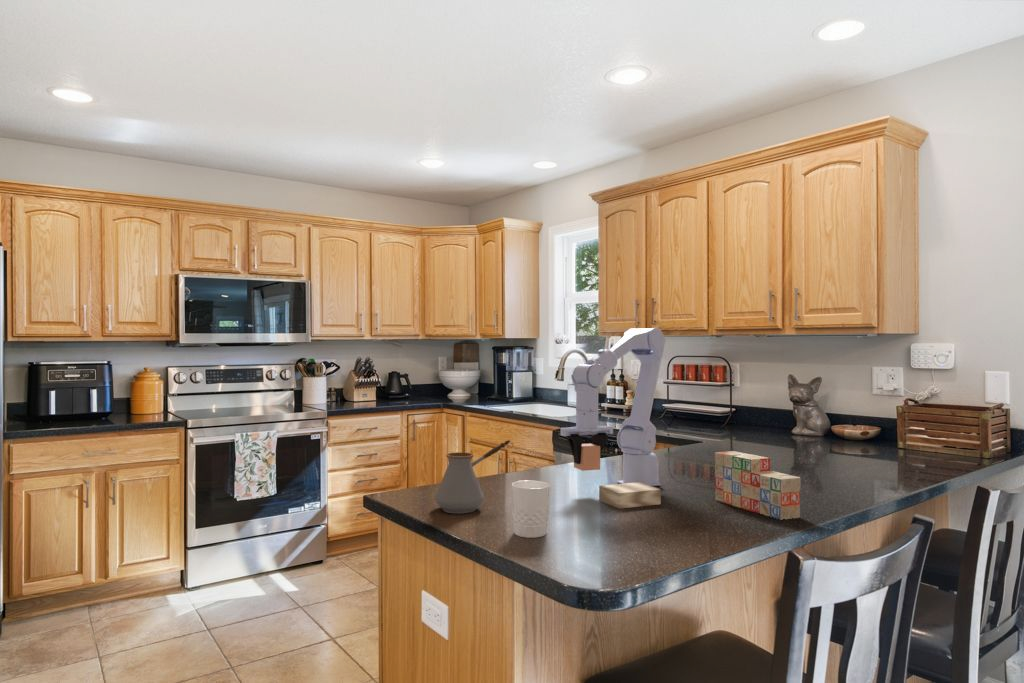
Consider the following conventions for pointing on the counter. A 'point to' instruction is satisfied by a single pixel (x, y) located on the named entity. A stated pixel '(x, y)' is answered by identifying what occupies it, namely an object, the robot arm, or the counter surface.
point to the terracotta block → (589, 458)
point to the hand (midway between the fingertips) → (586, 462)
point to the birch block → (629, 495)
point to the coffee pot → (462, 483)
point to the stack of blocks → (756, 485)
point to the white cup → (530, 508)
